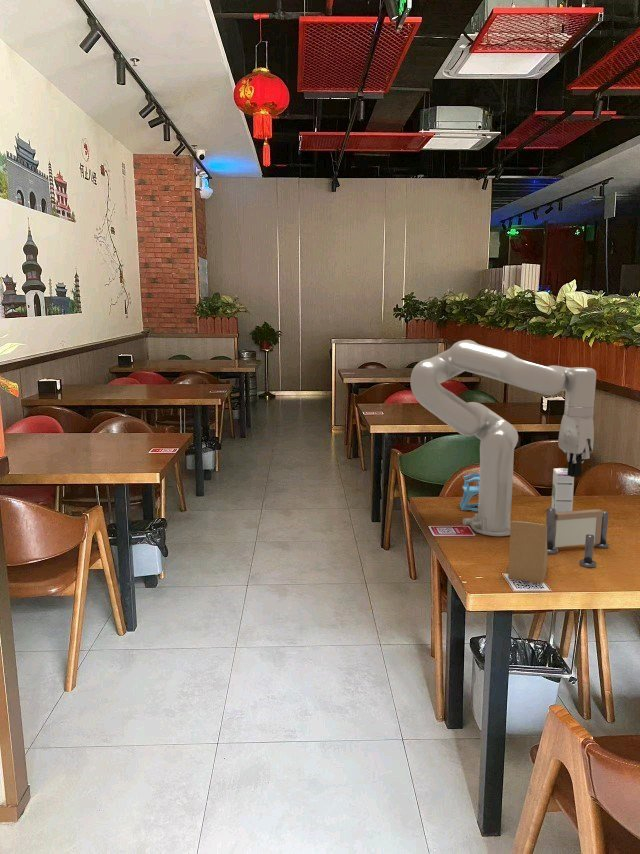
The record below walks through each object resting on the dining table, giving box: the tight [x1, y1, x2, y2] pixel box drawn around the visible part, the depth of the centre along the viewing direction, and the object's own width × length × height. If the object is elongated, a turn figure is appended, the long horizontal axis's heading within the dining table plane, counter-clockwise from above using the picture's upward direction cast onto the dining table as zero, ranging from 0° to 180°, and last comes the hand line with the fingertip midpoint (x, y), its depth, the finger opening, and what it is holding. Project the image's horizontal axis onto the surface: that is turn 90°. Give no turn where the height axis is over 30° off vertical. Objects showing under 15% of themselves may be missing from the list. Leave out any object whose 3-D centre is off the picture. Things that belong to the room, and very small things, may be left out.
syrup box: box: [550, 467, 575, 513], centre depth 212 cm, size 6×6×14 cm
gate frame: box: [545, 507, 610, 569], centre depth 175 cm, size 21×16×12 cm
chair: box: [459, 472, 480, 512], centre depth 216 cm, size 8×8×12 cm
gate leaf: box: [553, 508, 604, 548], centre depth 180 cm, size 14×2×9 cm, turn 104°
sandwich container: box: [507, 520, 549, 584], centre depth 165 cm, size 9×15×15 cm, turn 156°
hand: (574, 475), depth 184 cm, fingers closed
